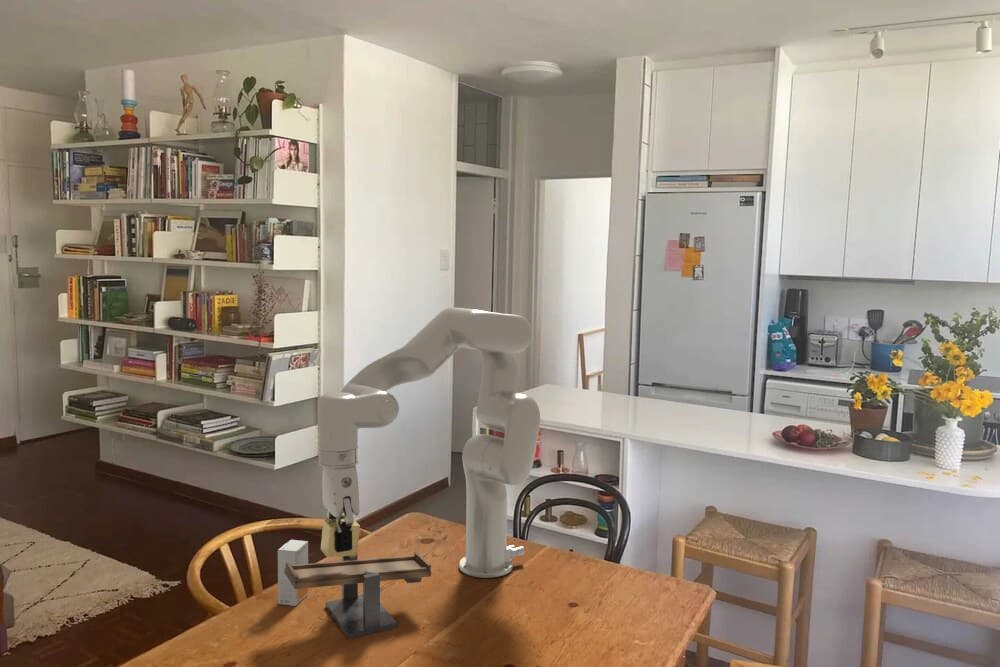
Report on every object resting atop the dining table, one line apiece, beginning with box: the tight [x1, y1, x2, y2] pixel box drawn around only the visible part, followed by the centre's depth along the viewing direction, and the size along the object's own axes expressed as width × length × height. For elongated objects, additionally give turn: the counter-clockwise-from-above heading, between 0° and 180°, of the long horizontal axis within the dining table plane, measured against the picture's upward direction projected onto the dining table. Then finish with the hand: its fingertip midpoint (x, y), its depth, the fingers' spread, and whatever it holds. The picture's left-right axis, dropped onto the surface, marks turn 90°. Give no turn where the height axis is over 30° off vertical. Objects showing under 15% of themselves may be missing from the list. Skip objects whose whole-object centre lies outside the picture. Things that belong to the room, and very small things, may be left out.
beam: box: [284, 552, 432, 589], centre depth 157 cm, size 28×11×4 cm, turn 119°
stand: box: [325, 554, 398, 640], centre depth 158 cm, size 10×15×12 cm, turn 29°
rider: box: [320, 518, 361, 558], centre depth 154 cm, size 6×5×6 cm
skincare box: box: [277, 539, 309, 607], centre depth 165 cm, size 6×4×12 cm
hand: (339, 545), depth 154 cm, fingers closed on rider, 4 cm apart
